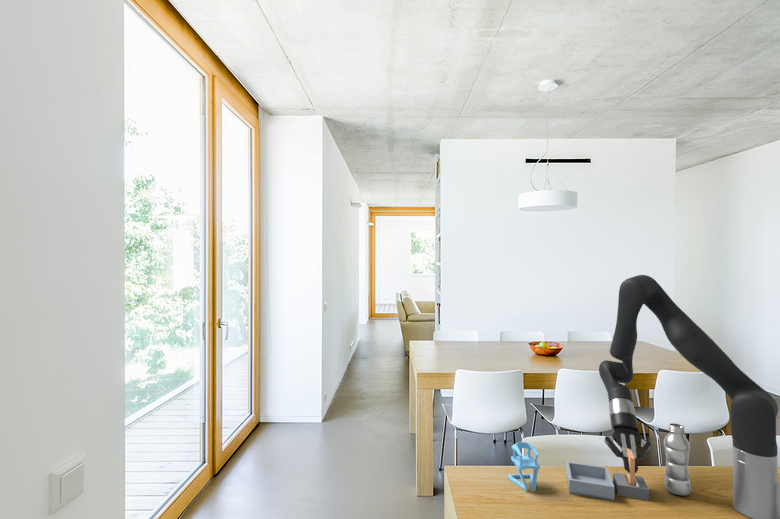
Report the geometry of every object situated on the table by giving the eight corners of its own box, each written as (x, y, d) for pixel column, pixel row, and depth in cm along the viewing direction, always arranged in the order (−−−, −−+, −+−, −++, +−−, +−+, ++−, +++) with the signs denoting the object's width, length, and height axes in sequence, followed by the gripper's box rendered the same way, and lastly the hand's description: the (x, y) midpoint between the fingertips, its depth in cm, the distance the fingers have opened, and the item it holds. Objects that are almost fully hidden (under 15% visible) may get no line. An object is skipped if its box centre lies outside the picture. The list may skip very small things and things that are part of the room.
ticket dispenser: (642, 486, 125) (642, 474, 125) (649, 500, 118) (648, 487, 118) (613, 482, 128) (613, 470, 128) (617, 495, 120) (617, 482, 120)
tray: (607, 480, 129) (607, 467, 129) (614, 500, 117) (614, 487, 117) (566, 473, 133) (566, 461, 133) (569, 493, 121) (569, 479, 121)
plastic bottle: (695, 500, 118) (695, 431, 118) (669, 497, 119) (669, 429, 119) (684, 488, 124) (684, 422, 124) (659, 485, 125) (659, 420, 126)
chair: (518, 492, 122) (518, 452, 122) (507, 477, 130) (507, 440, 130) (543, 490, 123) (543, 451, 123) (530, 476, 131) (531, 438, 131)
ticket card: (631, 482, 125) (631, 450, 124) (634, 491, 121) (634, 458, 120) (626, 481, 125) (626, 450, 125) (630, 490, 121) (630, 458, 120)
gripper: (601, 408, 133) (608, 463, 121) (648, 413, 128) (660, 471, 117) (598, 419, 138) (605, 473, 126) (644, 424, 133) (655, 480, 122)
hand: (631, 472), depth 121 cm, fingers closed on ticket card, 1 cm apart
